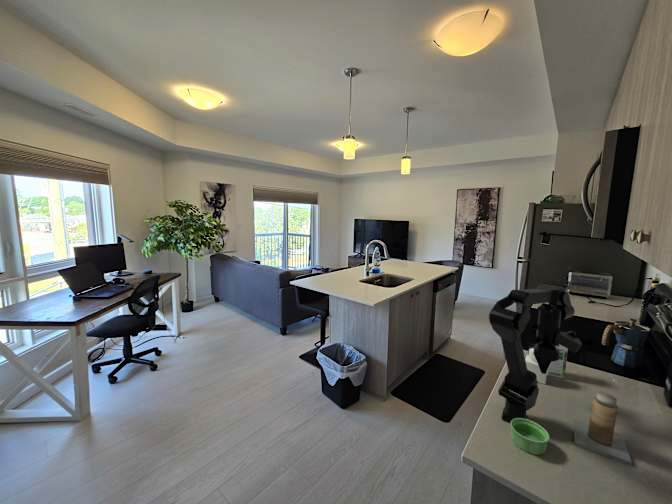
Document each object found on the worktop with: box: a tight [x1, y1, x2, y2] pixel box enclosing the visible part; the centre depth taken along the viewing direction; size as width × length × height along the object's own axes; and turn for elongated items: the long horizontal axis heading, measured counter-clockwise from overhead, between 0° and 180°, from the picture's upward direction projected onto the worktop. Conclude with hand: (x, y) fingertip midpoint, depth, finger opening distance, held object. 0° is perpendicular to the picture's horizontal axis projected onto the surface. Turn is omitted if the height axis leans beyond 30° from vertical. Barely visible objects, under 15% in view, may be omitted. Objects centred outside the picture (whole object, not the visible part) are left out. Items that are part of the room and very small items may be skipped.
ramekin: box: [509, 418, 550, 456], centre depth 78 cm, size 9×9×4 cm
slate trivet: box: [572, 418, 633, 467], centre depth 79 cm, size 11×11×1 cm
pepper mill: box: [588, 391, 619, 446], centre depth 78 cm, size 5×5×13 cm
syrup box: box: [547, 344, 569, 380], centre depth 113 cm, size 6×6×14 cm
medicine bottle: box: [525, 345, 548, 385], centre depth 110 cm, size 7×7×12 cm
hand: (543, 367), depth 94 cm, fingers open, 9 cm apart
